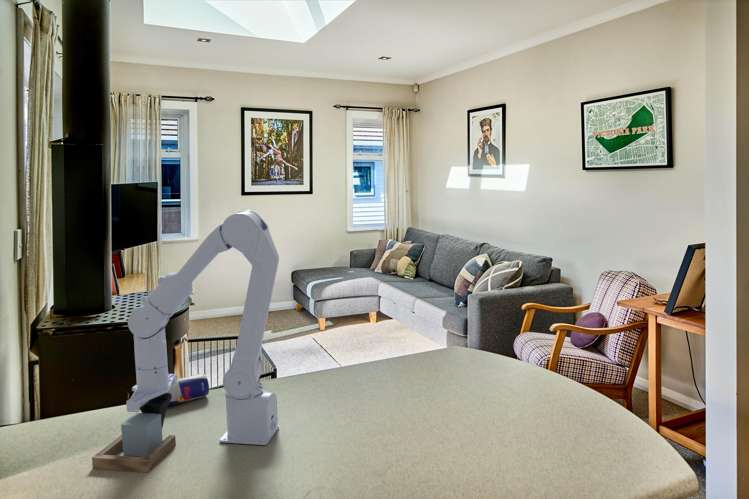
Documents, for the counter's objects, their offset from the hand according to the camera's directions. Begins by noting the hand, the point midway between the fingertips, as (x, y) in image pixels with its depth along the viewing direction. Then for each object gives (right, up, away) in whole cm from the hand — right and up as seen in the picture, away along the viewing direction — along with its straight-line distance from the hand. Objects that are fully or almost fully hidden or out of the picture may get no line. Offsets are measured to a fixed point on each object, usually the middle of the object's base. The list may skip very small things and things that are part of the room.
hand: (155, 432), depth 109 cm
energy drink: (-6, +3, +13) cm, 15 cm away
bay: (-1, -2, -7) cm, 7 cm away
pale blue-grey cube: (-1, -2, -4) cm, 5 cm away
